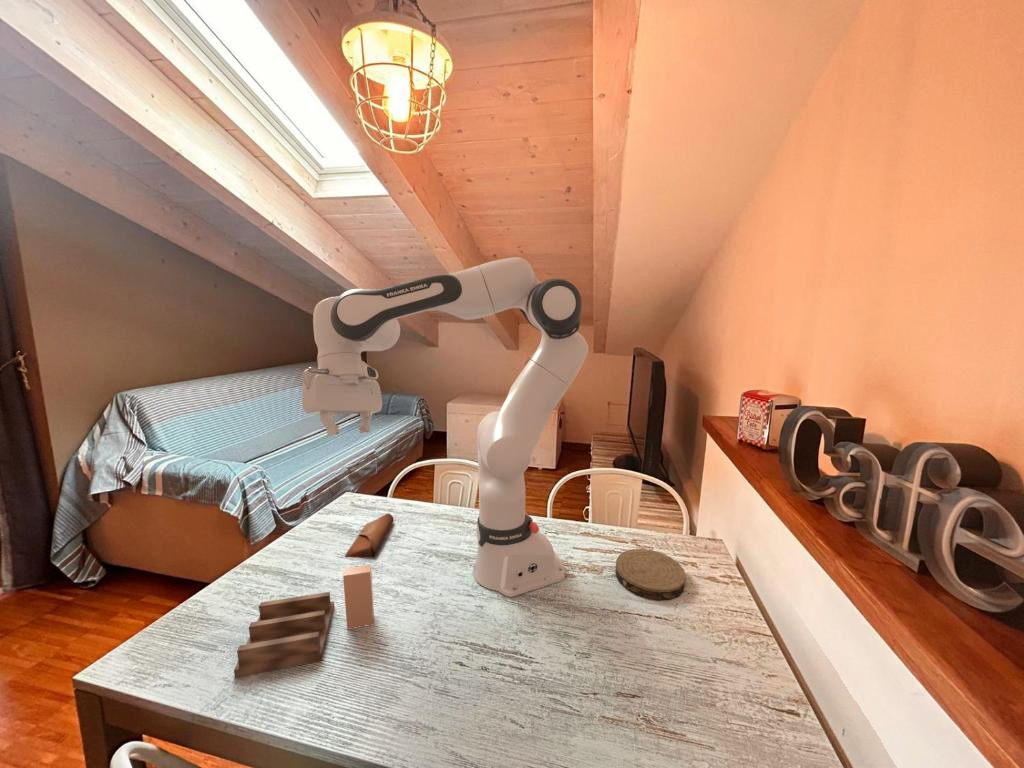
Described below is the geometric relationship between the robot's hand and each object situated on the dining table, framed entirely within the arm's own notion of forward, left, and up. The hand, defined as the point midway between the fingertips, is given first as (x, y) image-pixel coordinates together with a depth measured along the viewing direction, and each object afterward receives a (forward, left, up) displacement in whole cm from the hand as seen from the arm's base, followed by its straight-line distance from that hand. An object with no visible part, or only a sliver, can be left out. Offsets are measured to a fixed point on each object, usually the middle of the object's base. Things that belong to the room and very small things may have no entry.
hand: (350, 434), depth 86 cm
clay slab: (-1, +10, -37) cm, 39 cm away
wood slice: (-67, +12, -38) cm, 78 cm away
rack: (+12, +11, -37) cm, 41 cm away
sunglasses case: (-1, -22, -38) cm, 44 cm away
